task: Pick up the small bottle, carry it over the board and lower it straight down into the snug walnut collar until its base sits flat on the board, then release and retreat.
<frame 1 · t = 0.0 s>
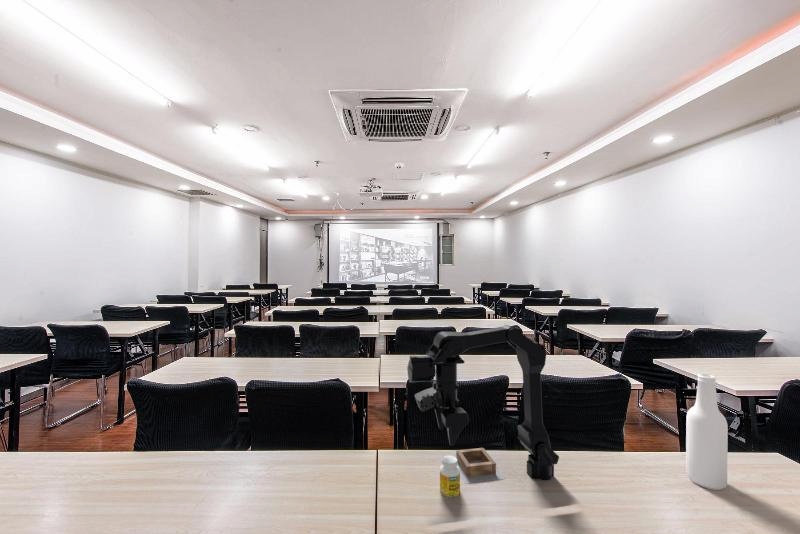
hand: (446, 436, 96), 15 cm above the table, fingers open, 9 cm apart
supplement bottle: (449, 495, 94), on the table
board: (475, 470, 105), on the table
collar: (475, 466, 105), resting on board
alcohol: (706, 482, 100), on the table
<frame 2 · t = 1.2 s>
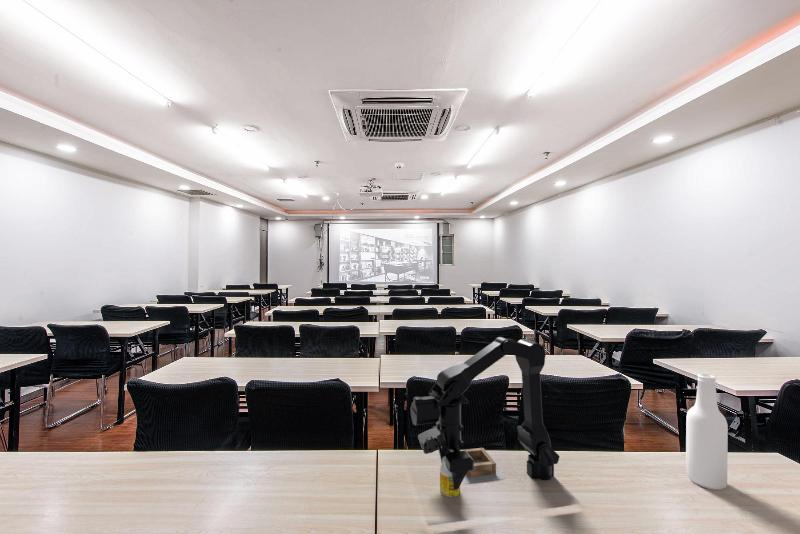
hand: (450, 478, 94), 4 cm above the table, fingers open, 9 cm apart
nothing on the table moved.
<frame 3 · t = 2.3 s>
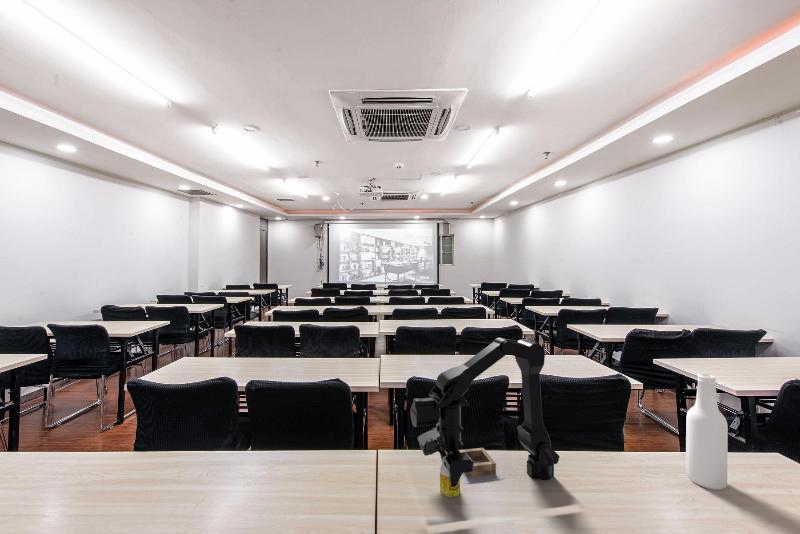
hand: (449, 479, 94), 4 cm above the table, fingers closed on supplement bottle, 5 cm apart
supplement bottle: (449, 495, 94), on the table, touching gripper
everything else where it was.
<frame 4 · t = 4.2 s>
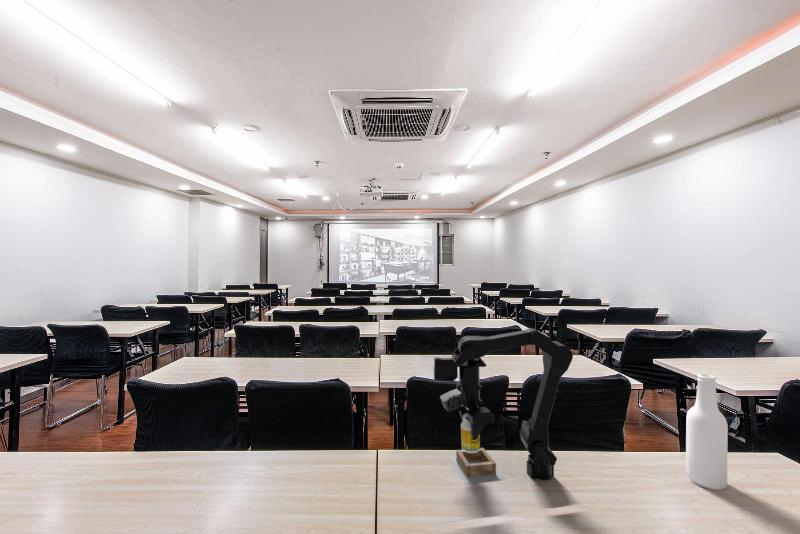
hand: (470, 434, 102), 12 cm above the table, fingers closed on supplement bottle, 5 cm apart
supplement bottle: (470, 449, 102), point 8 cm above the table, touching gripper
everything else where it was.
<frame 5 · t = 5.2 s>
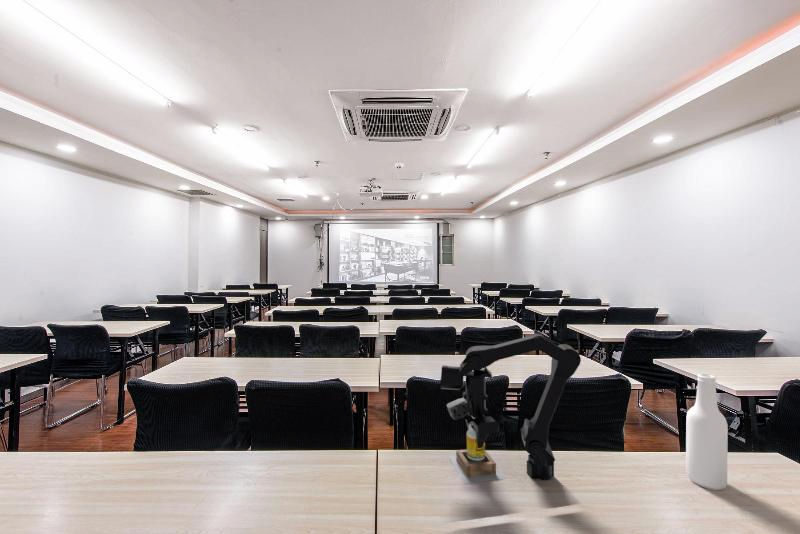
hand: (475, 442, 105), 8 cm above the table, fingers closed on supplement bottle, 5 cm apart
supplement bottle: (475, 457, 105), point 4 cm above the table, touching gripper
everything else where it was.
when the fingers open (6 cm above the table, at t = 6.2 s): supplement bottle drops 1 cm, resting on board.
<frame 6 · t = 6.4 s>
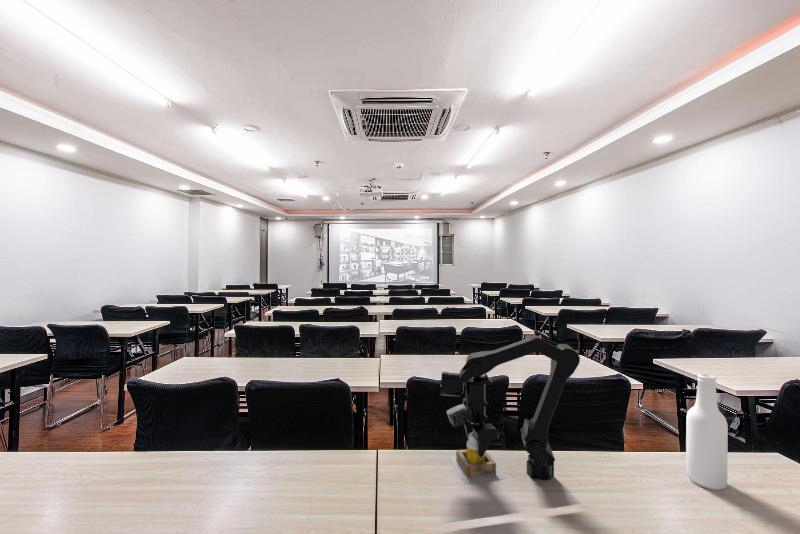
hand: (475, 449, 105), 6 cm above the table, fingers open, 7 cm apart
supplement bottle: (475, 467, 105), point 1 cm above the table, touching board
everything else where it was.
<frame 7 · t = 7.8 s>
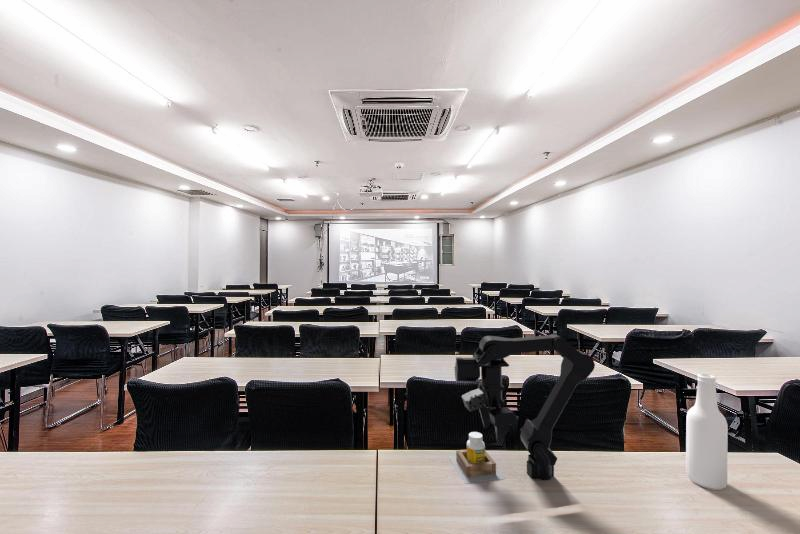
hand: (492, 435, 101), 12 cm above the table, fingers open, 9 cm apart
nothing on the table moved.
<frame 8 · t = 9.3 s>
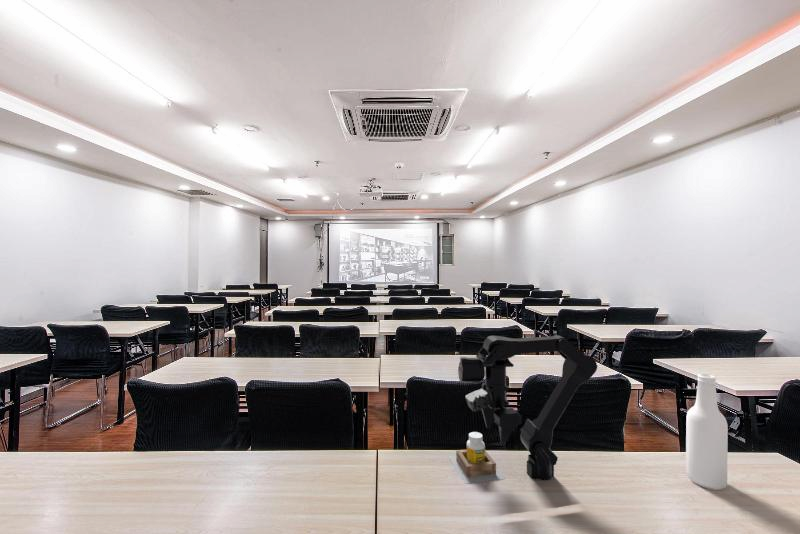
hand: (495, 435, 101), 13 cm above the table, fingers open, 9 cm apart
nothing on the table moved.
at the end: supplement bottle 0.1 cm off-centre on the collar, point 0.0 cm above the collar's base; supplement bottle tilted 0°; the gripper is holding nothing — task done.
